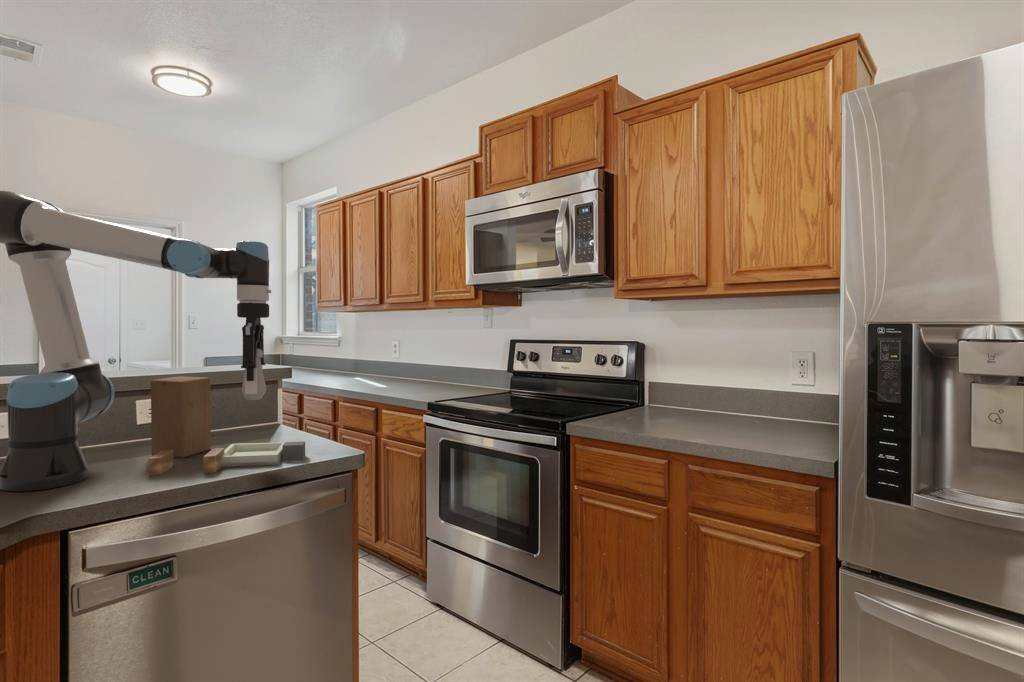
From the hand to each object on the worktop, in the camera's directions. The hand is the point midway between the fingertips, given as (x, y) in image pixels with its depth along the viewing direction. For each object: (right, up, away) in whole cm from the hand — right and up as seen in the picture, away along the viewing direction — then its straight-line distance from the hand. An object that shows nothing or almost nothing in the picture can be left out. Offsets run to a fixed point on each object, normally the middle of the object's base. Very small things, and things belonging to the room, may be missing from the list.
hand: (254, 391), depth 143 cm
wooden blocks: (-11, -18, -10) cm, 23 cm away
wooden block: (-22, -17, +6) cm, 29 cm away
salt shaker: (0, -2, 0) cm, 2 cm away
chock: (+10, -18, +2) cm, 20 cm away
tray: (0, -18, +1) cm, 18 cm away
